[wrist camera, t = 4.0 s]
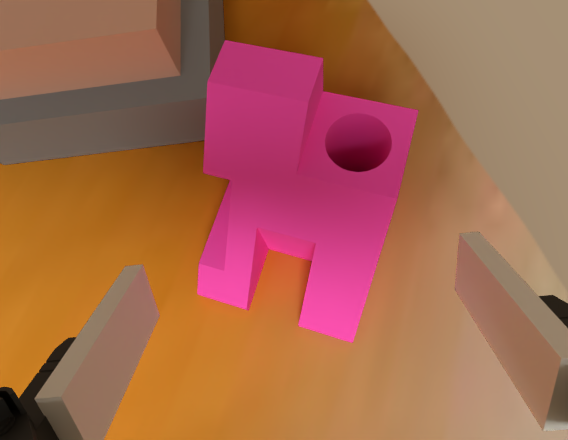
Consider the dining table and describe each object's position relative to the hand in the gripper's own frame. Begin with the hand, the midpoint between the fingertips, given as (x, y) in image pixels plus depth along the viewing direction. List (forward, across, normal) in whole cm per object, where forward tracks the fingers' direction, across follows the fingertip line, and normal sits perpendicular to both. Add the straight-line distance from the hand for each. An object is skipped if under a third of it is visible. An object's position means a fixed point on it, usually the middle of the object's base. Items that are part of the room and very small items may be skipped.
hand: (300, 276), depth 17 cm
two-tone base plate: (+23, -14, +10) cm, 28 cm away
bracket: (+10, 0, -4) cm, 11 cm away
